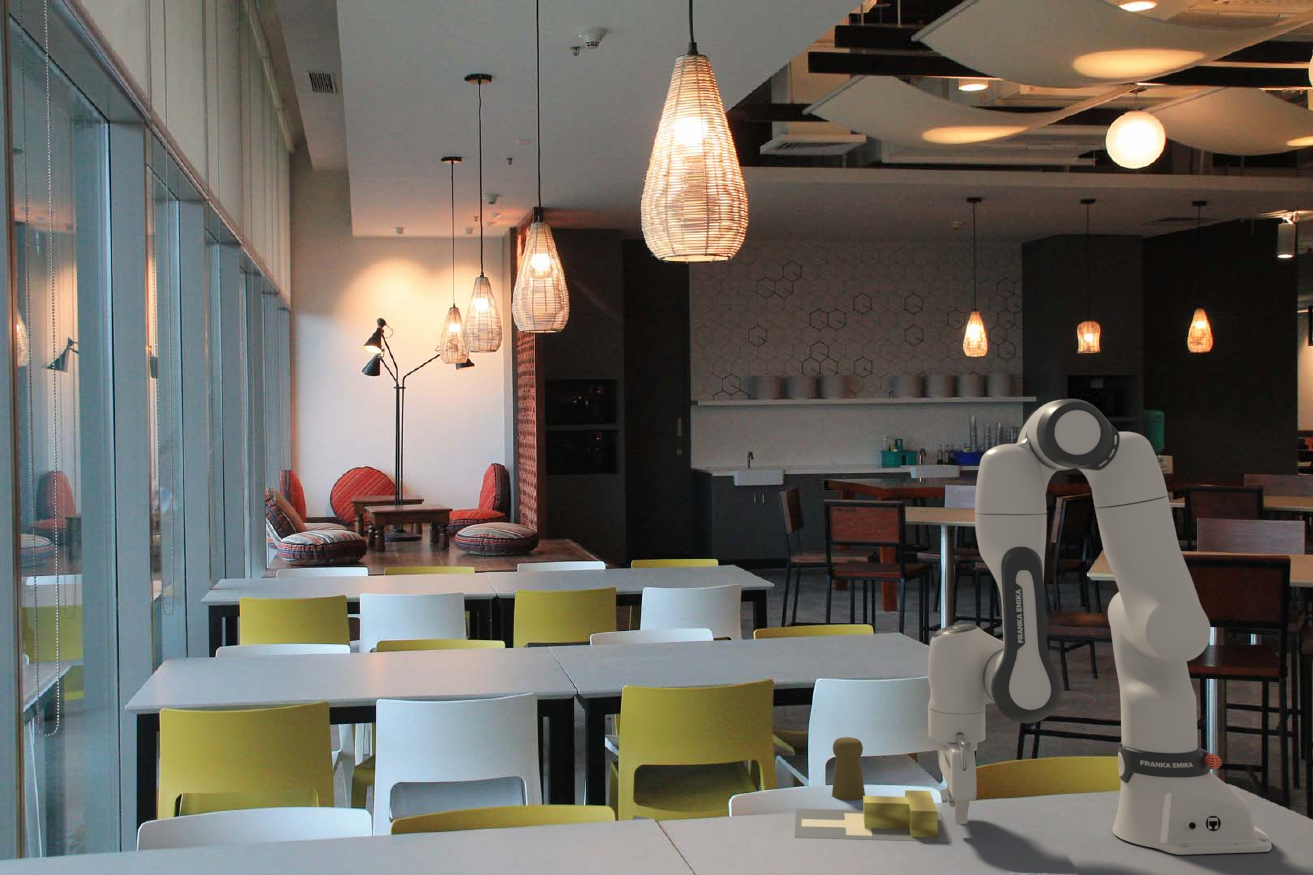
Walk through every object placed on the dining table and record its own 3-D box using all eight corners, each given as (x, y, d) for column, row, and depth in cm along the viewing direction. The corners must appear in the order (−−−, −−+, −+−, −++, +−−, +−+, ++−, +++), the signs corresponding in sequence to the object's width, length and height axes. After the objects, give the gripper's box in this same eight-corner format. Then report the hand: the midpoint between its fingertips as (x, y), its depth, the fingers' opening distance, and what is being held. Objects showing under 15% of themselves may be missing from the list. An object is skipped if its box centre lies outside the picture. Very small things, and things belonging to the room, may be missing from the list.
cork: (864, 796, 213) (863, 734, 213) (867, 806, 207) (866, 742, 207) (830, 796, 214) (829, 734, 214) (831, 805, 208) (831, 741, 208)
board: (941, 818, 199) (941, 812, 199) (952, 848, 184) (952, 841, 184) (796, 814, 203) (796, 808, 203) (794, 843, 187) (794, 837, 187)
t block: (930, 815, 198) (929, 790, 198) (937, 837, 186) (937, 811, 186) (862, 813, 199) (862, 789, 199) (865, 835, 187) (865, 809, 187)
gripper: (986, 742, 181) (987, 834, 181) (968, 714, 201) (969, 797, 201) (943, 740, 182) (944, 832, 181) (930, 713, 202) (931, 796, 202)
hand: (957, 814), depth 191 cm, fingers open, 8 cm apart
